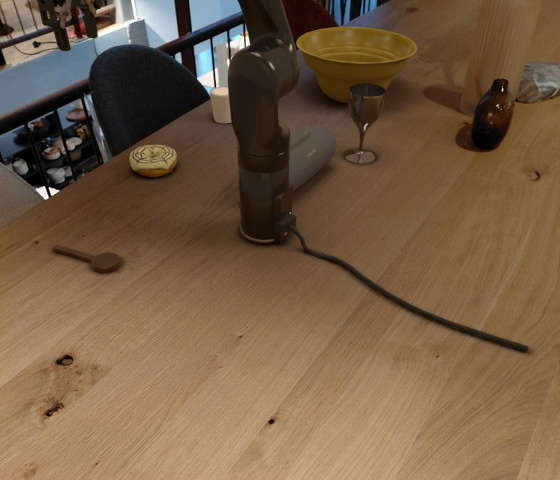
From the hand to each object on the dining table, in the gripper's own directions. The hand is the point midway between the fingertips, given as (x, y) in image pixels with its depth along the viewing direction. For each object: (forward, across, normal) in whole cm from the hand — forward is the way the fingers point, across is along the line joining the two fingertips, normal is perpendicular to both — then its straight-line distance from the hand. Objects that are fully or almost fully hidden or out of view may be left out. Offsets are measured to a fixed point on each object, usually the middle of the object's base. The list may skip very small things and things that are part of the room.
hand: (79, 43), depth 108 cm
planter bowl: (+27, +68, -36) cm, 81 cm away
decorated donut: (+27, +7, -8) cm, 29 cm away
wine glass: (+27, +32, -49) cm, 64 cm away
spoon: (+26, -29, -15) cm, 42 cm away
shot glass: (+26, +38, -10) cm, 48 cm away
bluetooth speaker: (+16, +13, -39) cm, 44 cm away
